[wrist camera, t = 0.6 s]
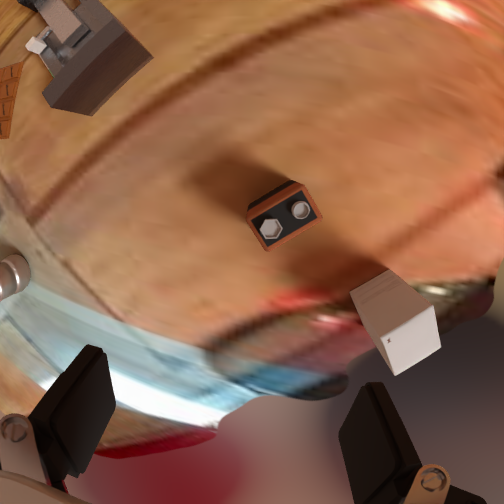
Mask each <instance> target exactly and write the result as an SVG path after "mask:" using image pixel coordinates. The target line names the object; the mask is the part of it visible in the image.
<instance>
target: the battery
mask: <svg viewBox="0 0 504 504" xmlns="http://www.w3.org/2000/svg"><path fill="white" fill-rule="evenodd" d="M321 220H322V215H321V213H320V211H319V210H318V208H317V206H316V204H315V203H314V201H313V199H312V197H311V195H310V194H309V192H308V190H307V189H306V187H305V185H303V184H300V183H298V182H296V181H293V180H290V181H288V182H286V183H284V184H283V185H281V186H279V187H278V188H276V189H274V190H273V191H271V192H269V193H268V194H266V195H264V196H263V197H261V198H259V199H258V200H256V201H254V202H253V203H251V204H250V205H249V206H248V211H247V216H246V221H247V223H248V225H249V226H250V228H251V229H252V231H253V232H254V234H255V236H256V237H257V239H258V240H259V242H260V244H261V245H262V247H263V248H264V250H265V251H271V250H273V249H275V248H277V247H278V246H280V245H282V244H283V243H285V242H287V241H288V240H290V239H292V238H294V237H295V236H297V235H299V234H300V233H302V232H304V231H305V230H307V229H309V228H311V227H312V226H314V225H316V224H317V223H319V222H320V221H321Z"/></svg>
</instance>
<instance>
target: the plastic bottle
mask: <svg viewBox="0 0 504 504" xmlns="http://www.w3.org/2000/svg"><path fill="white" fill-rule="evenodd" d="M30 276H31V275H30V268H29V265H28V263H27V262H26V260H25V259H24V258H23V257H22V256H20V255H18V254H13V255H9V256H7V257H6V258H4V259H3V260H2V261H1V262H0V301H2V300H3V299H5V298H7V297H9V296H11V295H13V294H16V293H18V292H21V291H23V290H24V289H25V288H26V287H27V286H28V284H29V281H30Z"/></svg>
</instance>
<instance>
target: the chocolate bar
mask: <svg viewBox="0 0 504 504" xmlns="http://www.w3.org/2000/svg"><path fill="white" fill-rule="evenodd" d="M23 64H24V61H22V62H19V63H16V64H13V65H10V66H7V67H4V68H1V69H0V139H7V138H9V134H10V127H11V120H12V114H13V108H14V103H15V98H16V93H17V88H18V84H19V79H20V76H21V72H22V68H23Z"/></svg>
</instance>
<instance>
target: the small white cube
mask: <svg viewBox="0 0 504 504" xmlns="http://www.w3.org/2000/svg"><path fill="white" fill-rule="evenodd" d="M25 46H26V48H27V50H29V51H32V52H34V53H37V54H40V53H41V52H42V51H43V49H44V48H45V47H46V46H47V45H46V44H45V42H44V41H42V40H40V39H38V38H36V37H32V38H31V39H30V40H29V42H28V43H27V44H26V45H25Z"/></svg>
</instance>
